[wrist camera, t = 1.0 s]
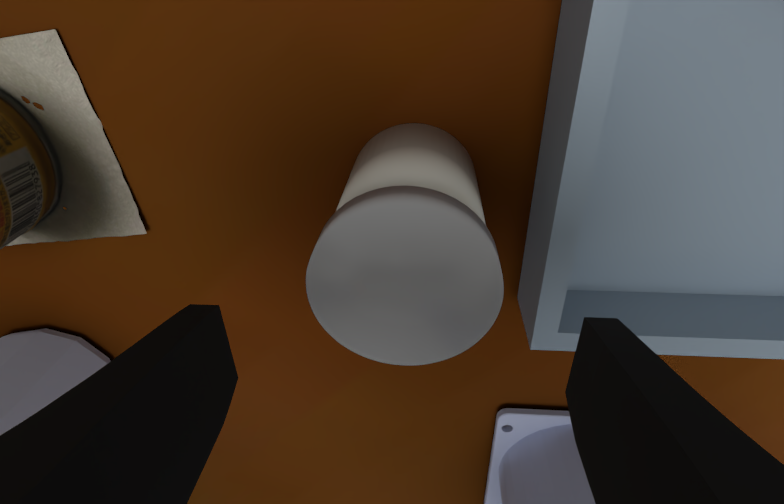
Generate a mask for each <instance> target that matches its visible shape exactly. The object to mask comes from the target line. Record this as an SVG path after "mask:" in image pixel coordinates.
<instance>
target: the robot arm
mask: <svg viewBox="0 0 784 504" xmlns="http://www.w3.org/2000/svg"><path fill="white" fill-rule="evenodd" d="M237 380H238V376H237V372H236V368H235V364H234V360H233V357H232V353H231V349H230V345H229V341H228V338H227V334H226V330H225V326H224V323H223V319H222V315H221V311H220V307H219V305H192V304H190V305H188V306H187V307H185V308H184V309H182V310H181V311H179V312H178V313H176V314H175V315H174V316H172V317H171V318H169V319H168V320H167V321H165V322H164V323H162V324H161V325H160V326H158V327H157V328H156V329H154V330H153V331H152V332H150V333H149V334H148V335H146V336H145V337H143V338H142V339H141V340H139V341H138V342H137V343H135V344H134V345H133V346H131V347H130V348H128V349H127V350H126V351H124V352H123V353H122V354H120V355H119V356H117V357H116V358H115V359H113V360H112V361H111V362H109V363H108V364H106V365H105V366H104V367H102V368H101V369H100V370H98V371H97V372H95V373H94V374H93V375H91V376H90V377H88V378H87V379H85V380H84V381H82V382H81V383H79V384H78V385H76V386H75V387H73V388H72V389H71V390H69V391H68V392H66V393H65V394H63V395H62V396H60V397H59V398H57V399H56V400H54V401H53V402H51V403H50V404H48V405H47V406H45V407H44V408H42V409H41V410H39V411H38V412H37V413H35V414H34V415H32V416H30V417H29V418H27V419H26V420H24V421H23V422H21V423H19V424H18V425H16V426H15V427H13V428H11V429H10V430H8V431H7V432H5V433H3V434H2V435H0V504H187V502H188V500H189V498H190V496H191V493H192V491H193V489H194V487H195V485H196V483H197V481H198V479H199V476H200V474H201V472H202V470H203V468H204V466H205V464H206V461H207V459H208V457H209V455H210V453H211V451H212V448H213V446H214V444H215V442H216V440H217V437H218V435H219V433H220V431H221V428H222V426H223V424H224V421H225V418H226V415H227V412H228V409H229V406H230V403H231V400H232V396H233V393H234V390H235V386H236V383H237ZM566 398H567V403H568V408H569V411H562V410H541V409H520V408H504V409H501V410H500V411H499V412H498V413H497V415H496V422H495V429H494V436H493V443H492V450H491V457H490V464H489V470H488V477H487V484H486V491H485V498H484V504H784V465H783V464H782V463H781V462H779V461H778V460H777V459H776V458H774V457H773V456H772V455H771V454H769V453H768V452H767V451H766V450H765V449H763V448H762V447H761V446H760V445H758V444H757V443H756V442H755V441H754V440H752V439H751V438H750V437H749V436H747V435H746V434H745V433H744V432H743V431H741V430H740V429H739V428H738V427H737V426H735V425H734V424H733V423H732V422H731V421H730V420H728V419H727V418H726V417H725V416H724V415H723V414H721V413H720V412H719V411H718V410H717V409H716V408H714V407H713V406H712V405H711V404H710V403H709V402H708V401H707V400H705V399H704V398H703V397H702V396H701V395H700V394H699V393H698V392H696V391H695V390H694V389H693V388H692V387H691V386H690V385H689V384H688V383H687V382H685V381H684V380H683V379H682V378H681V377H680V376H679V375H678V374H677V373H676V372H675V371H673V370H672V369H671V368H670V367H669V366H668V365H667V364H666V363H665V362H664V361H663V360H662V359H661V358H660V357H659V356H657V355H656V354H655V353H654V352H653V351H652V350H651V349H650V348H649V347H648V346H647V345H646V344H645V343H644V342H643V341H642V340H640V339H639V338H638V337H637V336H636V335H635V334H634V333H633V332H632V331H631V330H630V329H629V328H628V327H627V326H625V325H624V324H623V323H622V322H621V321H620V320H619V319H617V318H596V317H584V320H583V324H582V328H581V332H580V336H579V340H578V344H577V348H576V352H575V356H574V360H573V364H572V368H571V372H570V376H569V380H568V384H567V388H566Z"/></svg>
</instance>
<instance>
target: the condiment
mask: <svg viewBox="0 0 784 504" xmlns="http://www.w3.org/2000/svg"><path fill="white" fill-rule="evenodd" d="M21 96H24V97H26V98H27V99H29V100H30V103H29V104H27V103H25V102H24V101H23V100H22V98H21ZM33 102H36V103H38V104H40V105H42V106H43V108H44V110H40V109H38V108H36V107H35V106H34V105H33V104H32V103H33ZM63 207H66V208H67V209H66V210H64V209H63ZM138 234H147V233H146V230H145V228H144V225H143V223H142V221H141V219H140V217H139V213H138V208H137V206H136V204H135V202H134V200H133V197H132V195H131V192H130V190H129V187H128V185H127V183H126V181H125V180H124V178H123V175H122V171H121V168H120V166H119V164H118V162H117V160H116V158H115V155H114V153H113V151H112V149H111V147H110V145H109V142H108V140H107V138H106V136H105V134H104V132H103V126H102V124H101V121H100V120H99V119H98V117H97V116H96V114H95V112H94V110H93V109H92V107H91V105H90V103H89V100H88V98H87V96H86V94H85V92H84V89H83V86H82V84H81V81H80V79H79V77H78V74H77V72H76V70H75V69H74V67H73V66H72V64H71V62H70V60H69V58H68V56H67V53H66V51H65V49H64V47H63V45H62V43H61V41H60V38H59V36H58V34H57V32H56V30H55V29H54V30H48V31H42V32H36V33H30V34H24V35H18V36H12V37H6V38H0V249H2V248H3V247H5V246H11V245H16V244H26V243H38V242H55V241H72V240H78V239H91V238H97V237H109V236H129V235H138Z"/></svg>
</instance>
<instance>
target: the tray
mask: <svg viewBox="0 0 784 504" xmlns="http://www.w3.org/2000/svg"><path fill="white" fill-rule="evenodd" d="M517 298H518V302H519V306H520V310H521V314H522V318H523V322H524V326H525V330H526V334H527V338H528V342H529V346H530V350H554V351H576V348H577V344H578V340H579V336H580V332H581V328H582V324H583V320H584V317H596V318H617V319H619V320H620V321H621V322H622V323H623V324H624V325H625V326H627V327H628V328H629V329H630V330H631V331H632V332H633V333H634V334H635V335H636V336H637V337H638V338H639V339H640V340H642V341H643V342H644V343H645V344H646V345H647V346H648V347H649V348H650V349H651V350H652V351H653V352H654V353H655V354H659V355H685V356H711V357H737V358H763V359H784V0H562V4H561V11H560V17H559V24H558V30H557V37H556V44H555V50H554V57H553V64H552V70H551V77H550V84H549V90H548V97H547V104H546V110H545V117H544V123H543V130H542V137H541V143H540V150H539V157H538V163H537V170H536V177H535V183H534V190H533V197H532V203H531V210H530V216H529V223H528V230H527V236H526V243H525V250H524V256H523V263H522V270H521V276H520V283H519V290H518V296H517Z"/></svg>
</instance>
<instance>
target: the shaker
mask: <svg viewBox="0 0 784 504" xmlns="http://www.w3.org/2000/svg"><path fill="white" fill-rule="evenodd" d="M306 291H307V296H308V300H309V303H310V306H311V308H312V311H313V313H314V315H315V316H316V318H317V320H318V321H319V323H320V324H321V325H322V327H323V328H324V329H325V330H326V331H327V332H328V333H329V334H330V336H331V337H333V338H334V339H335V340H336V341H337V342H339V343H340V344H341V345H343V346H344V347H346V348H347V349H349V350H351V351H353V352H355V353H357V354H359V355H361V356H363V357H366V358H368V359H371V360H375V361H378V362H382V363H388V364H394V365H423V364H430V363H435V362H439V361H442V360H446V359H449V358H451V357H453V356H456V355H458V354H460V353H462V352H464V351H465V350H467V349H469V348H470V347H471V346H473V345H474V344H476V343H477V342H478V341H479V340H480V339H481V338H482V337H483V336H484V335H485V334H486V333H487V332H488V330H489V329H490V328H491V327H492V325H493V323H494V322H495V320H496V318H497V316H498V314H499V311H500V309H501V305H502V301H503V293H504V283H503V275H502V270H501V266H500V261H499V257H498V252H497V249H496V245H495V242H494V240H493V237H492V235H491V233H490V231H489V230H488V228H487V227H486V224H485V219H484V213H483V208H482V203H481V198H480V193H479V188H478V183H477V178H476V173H475V169H474V165H473V162H472V160H471V158H470V155H469V154H468V152H467V151H466V149H465V148H464V147H463V145H462V144H461V143H460V142H459V141H458V140H457V139H456V138H455V137H453V136H452V135H450V134H449V133H447V132H446V131H444V130H442V129H440V128H437V127H434V126H431V125H427V124H420V123H407V124H400V125H396V126H393V127H390V128H387V129H385V130H383V131H381V132H380V133H378V134H377V135H375V136H374V137H373V138H372V139H370V140H369V141H368V142H367V143H366V145H365V146H364V147H363V148H362V150H361V151H360V153H359V155H358V157H357V159H356V161H355V164H354V166H353V169H352V171H351V174H350V176H349V179H348V181H347V184H346V186H345V189H344V191H343V194H342V197H341V199H340V202H339V204H338V207H337V209H336V212H335V213H334V214H333V215H332V216H331V218H330V219H329V220H328V221H327V223H326V224H325V226H324V228H323V229H322V232H321V234H320V236H319V238H318V241H317V243H316V245H315V248H314V250H313V253H312V255H311V257H310V260H309V264H308V267H307V273H306Z"/></svg>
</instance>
